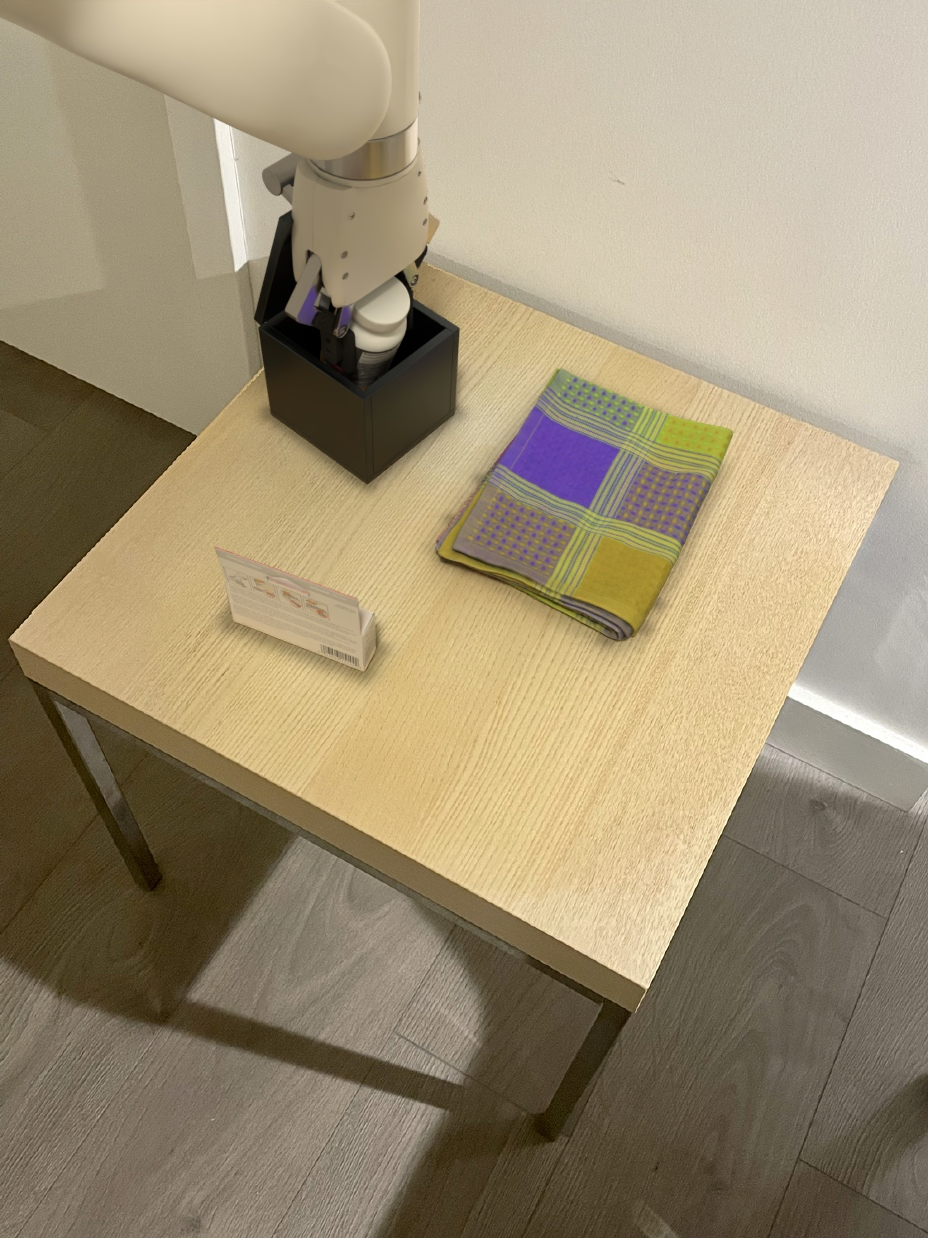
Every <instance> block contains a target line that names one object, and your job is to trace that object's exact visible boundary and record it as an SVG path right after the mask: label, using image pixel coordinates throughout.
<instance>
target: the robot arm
mask: <svg viewBox="0 0 928 1238" xmlns="http://www.w3.org/2000/svg"><path fill="white" fill-rule="evenodd" d="M0 19H3V20H5V21H7V22H10V23H11V24H13V25H16V26H18V27H20V28H23V29H24V30H26V31H29V32H31V33H33V34H35V35H38V36H39V37H41V38H43V39H45V40H47V41H49V42H50V43H53V44H54V45H55V46H58V47H59V48H62V49H63V50H65V51H67V52H69V53H71V54H74V55H76V56H78V57H80V58H82V59H84V60H86V61H88V62H91V63H92V64H95V65H97V66H100V67H102V68H104V69H107V70H109V71H112V72H114V73H117V74H119V75H121V76H124V77H126V78H128V79H130V80H133V81H136V83H139V84H142V85H144V86H147V87H149V88H151V89H153V90H155V91H157V92H159V93H162V94H163V95H166V96H168V97H170V98H172V99H174V100H175V101H178V102H180V103H182V104H183V105H186V106H188V107H191V108H192V109H194V110H196V111H199V112H200V113H202V114H204V115H206V116H208V117H210V118H213V119H215V120H217V121H218V122H221V123H223V124H224V125H227V126H229V127H231V128H233V129H235V130H238V131H240V132H242V133H245V134H247V135H249V136H251V137H254V138H256V139H258V140H260V141H263V142H264V143H265V142H266V143H268V144H270V145H273V146H275V147H277V148H280V149H282V150H285V151H287V152H289V153H290V154H291V153H294V154H296V155H299V156H302V157H303V158H302V159H301V160H300V161H299V162H298V163H297V168H296V174H295V180H294V187H293V199H292V205H291V210H292V218H293V220H294V223H293V227H292V257H293V270H294V276H295V280H296V282H298V283H297V285H296V287H295V289H294V291H293V293H292V295H291V297H290V299H289V302H288V304H287V306H286V308H285V313H286V314H287V315H288V316H290V317H291V318H293V319H294V320H296V321H297V322H299V323H302V324H305V325H309V326H314V327H316V328H317V329H319V330H320V335H321V348H322V354H323V356H324V358H325V359H326V360H327V361H329V362H330V363H331V364H333V365H337V366H338V367H340V368H341V369H343V370H344V371H346V372H347V373H349V374H350V373H352V372H353V371H355V369H356V349H355V334H354V332H353V331H352V330H351V329H350V328H349V324H350V320H351V316H352V311H353V307H354V303H355V302H356V301H358V300H359V299H361V298H362V297H364V296H365V295H367V294H368V293H370V292H371V291H373V290H374V289H376V288H377V287H378V286H380V285H381V284H383V283H384V282H386V281H387V280H389V279H390V278H391V277H393V276H394V277H396V278H397V279H398V280H399V281H400V282H401V283H402V284H403V285H404V286H405V288H406V289H407V291H408V294H409V297H410V308H409V311H408V314H407V316H406V321H407V325H406V332H408V331H409V330H410V329H412V328H413V298H414V289H413V288H415V287H416V286H417V285H418V283H419V282H420V278H421V277H420V272H419V268H420V267H421V265H422V263H423V261H424V259H425V257H426V255H427V254H428V249H429V247H428V245H429V244H431V241H432V239H433V237H434V236H435V235H436V232H437V230H438V228H439V227H440V223H441V221H440V219H439V218H438V217H437V216H435V215H434V214H432V213H431V212H430V211H429V190H428V188H429V187H428V176H427V170H426V169H427V168H426V162H425V155H424V151H423V146H422V145H423V144H422V141H421V139H420V137H419V121H420V118H419V116H420V115H419V114H420V113H419V112H420V111H419V109H420V107H419V106H420V104H421V103H422V93H421V91H420V41H421V40H420V38H421V34H420V32H421V0H0ZM330 300H331V301H332V305H333V306H334V307H336V308H337V311H336V315H335V314H333V313H332V312H330V311H328V310H329V305H330Z"/></svg>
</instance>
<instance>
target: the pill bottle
mask: <svg viewBox="0 0 928 1238" xmlns="http://www.w3.org/2000/svg"><path fill="white" fill-rule="evenodd" d="M409 308H410V297H409V294H408V291H407V289H406V288H405V286H404V285H403V284H402V283H401V282H400V281H399V280H398V279H397V278H396V277H394V276H393V277H391V278H390V279H389V280H387V281H386V282H384V283H383V284H381V285H380V286H378V287H377V288H376V289H374V290H373V291H371V292H370V293H368V294H367V295H365V296H364V297H362V298H361V299H359V300H358V301H356V302H355V303H354V307H353V311H352V316H351V320H350V324H349V328H350V329H351V330H352V331H353V332H354V334H355V349H356V369H355V371H353V372H352V373H350V374H349V373H347V372H346V371H344V370H343V369H341V368H340V367H338V366H337V365H333V364H331V363H330V362H329V361H327V360H326V359H325V358H324V356H323V354H322V349H321V353H320V361H321V362H323V363H324V364H326V365H327V366H329V367H330V368H332V369H333V370H334V371H336V372H337V373H339V374H340V375H342V376H343V377H345V378H346V379H347V380H349V381H350V382H352V383H353V384H355V385H356V386H358V387H359V388H361V389H362V390H363V391H364V390H365V389H366V388H367V387H369V386H370V385H371V384H373V383H374V382H375V381H377V380H378V379H379V378H381V377H382V376H383V375H385V374H386V373H387V371H388V369H389V367H390V365H391V363H392V361H393V358H394V356H395V354H396V352H397V349H398V347H399V345H400V343H401V341H402V339H403V337H404V335H405V331H406V325H407V321H406V316H407V314H408V311H409ZM336 311H337V308H336V310H335V313H334V314H335V315H336Z"/></svg>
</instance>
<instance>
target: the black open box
mask: <svg viewBox="0 0 928 1238" xmlns="http://www.w3.org/2000/svg"><path fill="white" fill-rule="evenodd" d="M335 310H336V307H334V306H333V305H332V301H331V300H330V305H329V310H328V311H330V312H332V313H333V314H334V313H335ZM257 329H258V330H257V331H258V336H259V343H260V350H261V356H262V357H261V358H262V364H263V365H262V366H263V371H264V377H265V378H264V379H265V384H266V392H267V397H268V398H267V400H268V406H269V412H270V415H271V416H273V417H274V418H275V419H277V420H278V421H279V422H281V423H282V424H283V425H285V426H286V427H288V428H289V429H290V430H292V431H293V432H295V433H296V434H297V435H299V436H300V437H301V438H303V439H304V440H306V441H307V442H308V443H309V444H311V445H312V446H314V447H315V448H317V449H318V450H319V451H321V453H323V454H325V455H326V456H328V457H329V458H330V459H332V460H333V461H335V462H336V463H337V464H339V465H340V466H341V467H343V468H344V469H345V470H347V471H348V472H349V473H351V474H352V475H354V476H355V477H356V478H357V479H359V480H360V481H362V482H363V483H365V484H366V485H369V484H370V483H371V482H372V481H374V480H375V479H376V478H377V477H378V476H380V475H381V474H382V473H384V472H385V471H386V470H387V469H389V468H390V467H391V466H392V465H393V464H395V463H396V462H397V461H398V460H400V459H401V458H402V457H404V455H405V454H408V452H409V451H411V450H412V449H413V448H414V447H416V446H417V445H418V444H419V443H421V442H422V441H423V440H424V439H425V438H427V437H428V436H429V435H431V434H432V433H433V432H434V431H436V430H437V429H438V428H439V427H440V426H442V425H443V424H444V423H445V422H446V421H448V420H449V419H450V418H452V416H454V415H456V414H455V413H456V402H457V401H456V399H457V383H458V365H459V352H460V351H459V349H460V332H461V328H460V327H459V326H457V325H456V324H454V323H453V322H452V321H450V320H448V319H447V318H445V317H443V316H442V315H441V314H439V313H438V312H435V310H432V309H431V308H430V307H428V306H426V305H425V304H423V303H422V302H420V301H419V300H417V299H415V298H414V297H413V328H412V329H410V330H409V331H408V332H406V331H405V335H404V337H403V339H402V341H401V343H400V345H399V347H398V349H397V352H396V354H395V356H394V358H393V361H392V363H391V365H390V367H389V369H388V371H387V373H386V374H385V375H383V376H382V377H381V378H379V379H378V380H377V381H375V382H374V383H373V384H371V385H370V386H369V387H367V388H366V389H365V390H364V391H363V390H362V389H361V388H359V387H358V386H356V385H355V384H353V383H352V382H350V381H349V380H347V379H346V378H345V377H343V376H342V375H340V374H339V373H337V372H336V371H334V370H333V369H332V368H330V367H329V366H327V365H326V364H324V363H323V362H321V361H320V353H321V349H322V348H321V335H320V330H319V329H317V328H316V327H314V326H309V325H305V324H302V323H299V322H297V321H296V320H294V319H293V318H291V317H290V316H288V315H287V314H286V313H285V310H283V311H282V312H280V313H279V314H277V315H276V316H274V317H273V318H271V319H270V320H268V321H267V322H265V323H264V324H262V325H261V326H260V325H259V326H258V327H257Z"/></svg>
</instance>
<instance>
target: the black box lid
mask: <svg viewBox="0 0 928 1238" xmlns="http://www.w3.org/2000/svg"><path fill="white" fill-rule="evenodd" d="M302 158H303V157H302V156H299V155H296V154H294V153H291V152H290V153H289V154H287V155H286V156H284V157H282V158H280V159H279V160H277V161H274V163H272V164H270V165H269V166H267V167H265V168H264V169H262V172H261V179H262V182H263V185H264V186H265V188H266V189H267V191H268V192H269V193H270V194H272V195H273V196H275V197H279V196H282V197H283V198H284V199H285V200H286V201H287V202H288V203H289V205H290V206H292V199H293V188H294V180H295V174H296V168H297V163H298V162H299V161H300V160H301V159H302ZM277 220H278V221H277V224H276V228H275V232H274V235H273V240H272V244H271V248H270V253H269V256H268V260H267V264H266V268H265V272H264V275H263V280H262V284H261V288H260V291H259V296H258V300H257V304H256V308H255V312H254V315H253V320H254V321H255V322H256V323H257V324H258V325H259V326H261V325H262V324H264V323H266V322H267V321H268V320H270V319H271V318H273V317H274V316H276V315H277V314H279V313H280V312H282V311H283V310H285V308H286V306H287V304H288V302H289V299H290V297H291V295H292V293H293V291H294V289H295V287H296V285H297V283H298V282H296V280H295V276H294V270H293V257H292V227H293V223H294V220H293V218H292V209H290V210H288V211H286V212H285V213H283V214H282V215H280V216H279V217H278V219H277Z"/></svg>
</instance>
